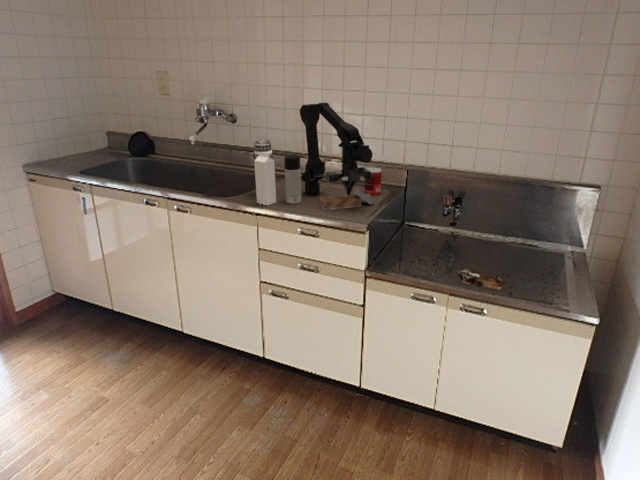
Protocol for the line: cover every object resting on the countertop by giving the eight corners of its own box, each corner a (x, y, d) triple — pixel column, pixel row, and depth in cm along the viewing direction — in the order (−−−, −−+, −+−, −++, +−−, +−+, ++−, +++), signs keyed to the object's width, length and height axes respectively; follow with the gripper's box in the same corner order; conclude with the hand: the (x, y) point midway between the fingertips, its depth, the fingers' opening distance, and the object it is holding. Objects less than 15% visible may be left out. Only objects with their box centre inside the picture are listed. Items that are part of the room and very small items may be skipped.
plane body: (324, 210, 191) (324, 202, 190) (319, 204, 198) (319, 197, 197) (361, 206, 196) (362, 198, 194) (355, 201, 202) (355, 193, 201)
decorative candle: (251, 196, 211) (247, 140, 201) (262, 190, 218) (259, 137, 209) (268, 198, 207) (265, 142, 197) (279, 193, 214) (276, 138, 205)
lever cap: (356, 194, 194) (361, 188, 193) (353, 191, 199) (358, 185, 198) (370, 205, 197) (375, 199, 196) (367, 202, 201) (372, 196, 201)
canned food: (380, 190, 217) (381, 167, 212) (381, 195, 209) (382, 171, 205) (364, 190, 217) (364, 167, 213) (363, 195, 210) (364, 171, 206)
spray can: (303, 200, 204) (302, 155, 197) (297, 204, 198) (296, 158, 191) (289, 198, 206) (287, 154, 199) (283, 203, 200) (281, 157, 193)
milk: (266, 200, 205) (263, 150, 197) (276, 202, 202) (274, 152, 193) (256, 203, 201) (253, 152, 192) (267, 206, 197) (264, 154, 189)
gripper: (334, 164, 181) (333, 203, 187) (377, 161, 186) (376, 198, 192) (325, 158, 190) (325, 195, 197) (367, 155, 196) (365, 191, 202)
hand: (348, 195), depth 196 cm, fingers closed
